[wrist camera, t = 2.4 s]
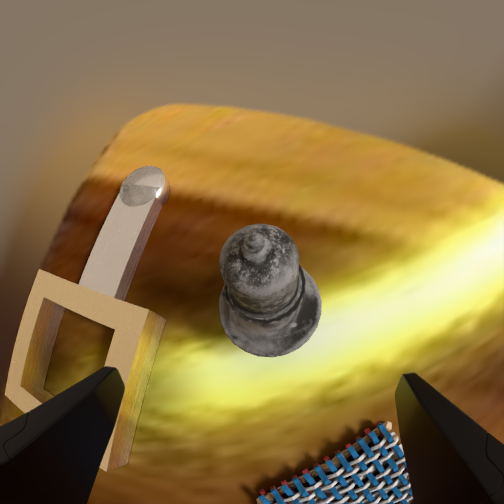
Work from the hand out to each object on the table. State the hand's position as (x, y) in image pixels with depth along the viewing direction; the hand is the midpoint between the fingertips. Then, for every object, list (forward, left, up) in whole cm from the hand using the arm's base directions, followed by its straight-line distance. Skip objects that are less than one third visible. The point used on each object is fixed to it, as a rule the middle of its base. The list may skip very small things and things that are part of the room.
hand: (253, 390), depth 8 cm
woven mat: (-6, -10, -12) cm, 16 cm away
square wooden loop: (-13, +12, -11) cm, 20 cm away
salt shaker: (+4, +2, -11) cm, 12 cm away
